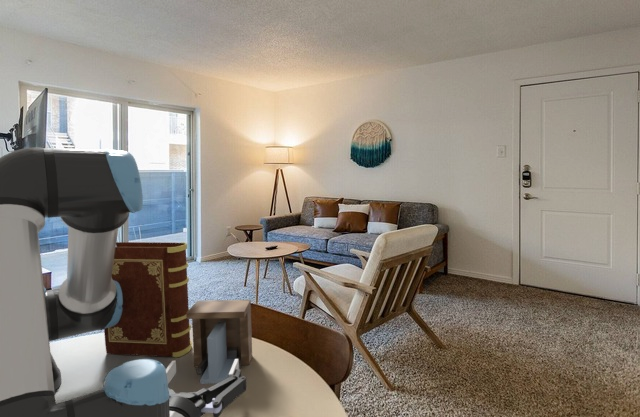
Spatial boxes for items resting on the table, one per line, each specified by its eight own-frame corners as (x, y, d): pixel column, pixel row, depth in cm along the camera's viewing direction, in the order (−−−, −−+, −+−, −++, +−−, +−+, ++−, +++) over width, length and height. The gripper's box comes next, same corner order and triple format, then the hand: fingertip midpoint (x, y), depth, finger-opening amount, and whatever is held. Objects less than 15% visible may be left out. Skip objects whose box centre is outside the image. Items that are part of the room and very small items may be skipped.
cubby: (189, 374, 93) (186, 312, 92) (200, 357, 102) (197, 300, 100) (246, 373, 93) (244, 311, 92) (252, 355, 102) (250, 299, 101)
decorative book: (195, 345, 109) (191, 242, 107) (182, 358, 101) (177, 247, 99) (123, 342, 112) (117, 241, 109) (105, 354, 104) (97, 246, 102)
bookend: (200, 383, 89) (198, 338, 88) (211, 362, 99) (210, 321, 98) (226, 383, 89) (224, 337, 88) (234, 362, 99) (233, 321, 98)
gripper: (93, 454, 62) (148, 383, 83) (247, 449, 62) (263, 380, 83) (90, 410, 61) (146, 350, 82) (246, 406, 62) (262, 347, 83)
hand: (205, 365), depth 83 cm, fingers open, 13 cm apart
